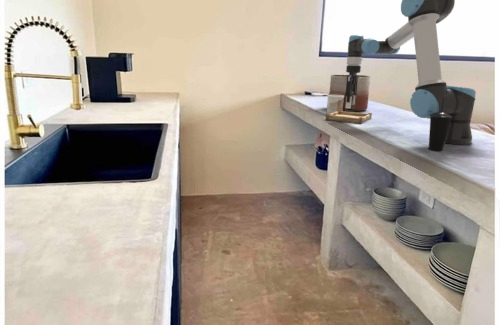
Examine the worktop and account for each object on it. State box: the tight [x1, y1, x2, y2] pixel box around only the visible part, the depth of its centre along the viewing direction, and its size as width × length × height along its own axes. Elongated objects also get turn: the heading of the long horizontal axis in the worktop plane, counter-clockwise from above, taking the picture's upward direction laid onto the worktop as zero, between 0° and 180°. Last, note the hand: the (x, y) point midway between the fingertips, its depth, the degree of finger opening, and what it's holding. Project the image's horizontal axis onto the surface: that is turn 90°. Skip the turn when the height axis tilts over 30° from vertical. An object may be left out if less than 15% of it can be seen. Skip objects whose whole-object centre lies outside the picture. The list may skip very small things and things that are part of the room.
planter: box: [328, 74, 371, 113], centre depth 244 cm, size 25×25×22 cm
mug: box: [326, 94, 344, 114], centre depth 229 cm, size 10×12×11 cm
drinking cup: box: [428, 98, 452, 152], centre depth 142 cm, size 8×8×20 cm
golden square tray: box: [325, 110, 373, 125], centre depth 210 cm, size 20×20×3 cm
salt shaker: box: [344, 91, 355, 112], centre depth 207 cm, size 6×6×12 cm
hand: (349, 107), depth 208 cm, fingers closed on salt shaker, 6 cm apart
